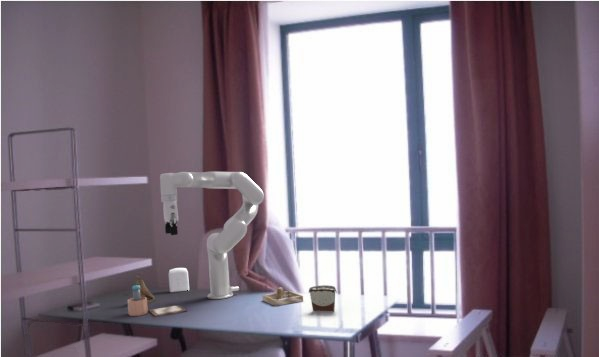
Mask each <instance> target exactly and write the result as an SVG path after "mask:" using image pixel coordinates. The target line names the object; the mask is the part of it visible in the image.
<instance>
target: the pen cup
mask: <svg viewBox="0 0 599 357" xmlns="http://www.w3.org/2000/svg"><path fill="white" fill-rule="evenodd" d="M127 310H128V311H127V313H128V316H131V317H137V316H138V317H139V316H143V315H144V316H145V315H147V313H148V312H149V307H148V303H147V298H146V297H141V300H139V301H133V297H131V298H129V299H127Z"/></svg>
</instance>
